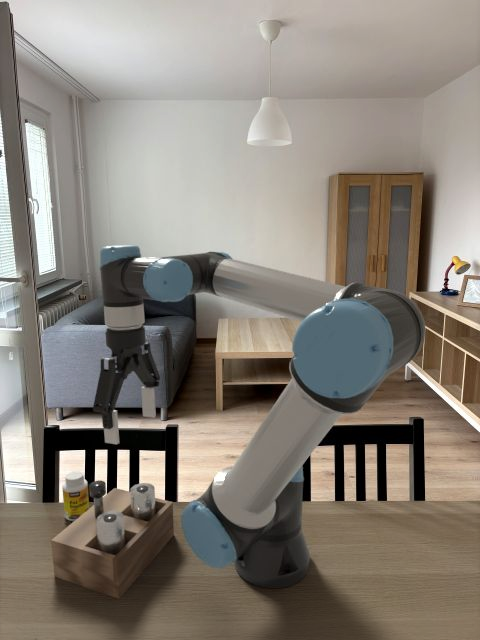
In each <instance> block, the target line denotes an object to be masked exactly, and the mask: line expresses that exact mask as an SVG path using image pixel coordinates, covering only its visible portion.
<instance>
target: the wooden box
mask: <svg viewBox="0 0 480 640" xmlns="http://www.w3.org/2000/svg"><path fill="white" fill-rule="evenodd" d="M103 507H104V513H105V512H108V511H118V512H121V513H122V514H123V515H124V531H125V547H124V548H123V549H122V550H121V551H120V552H119V553H118V554H117V555H116V556H115V555H112V554H109V553H106V552H102V551H99V550H98V537H97V522H96V520H97V518H96V517H95V510H94V504H93V505H92V506H91V507H89V509H88V510H87V511H86V512H85V513H84V514H82V515H81V516H80V517H79V518H78V519H76V520H75V521H72V523H70V524H69V525H68V526H67V527H65V528H64V529H63V530H62V531H61V532H59V533H58V534H57V535H56V536H54V537H53V538H52V539H51V540H50V541H51V552H52V553H51V554H52V562H53V563H52V564H53V565H52V566H53V575H54V578H58V579H60V580H63V581H66V582H68V583H72V584H75V585H78V586H80V587H83V588H86V589H90V590H93V591H95V592H98V593H101V594H103V595H106V596H107V595H108V596H111V597H113V598H116V599H121V598H122V596H124V594H125V593H126V592H127V590H129V588H130V587H131V586H132V585H133V583H134V582H135V581H136V580H137V579H138V578H139V577H140V576H141V574H142V573H143V572H144V571H145V569H147V568H148V566H149V565H150V564H151V563H152V562H153V560H154V559H155V558H156V557H157V556H158V554H159V553H160V552H161V551H162V550H163V548H165V547H166V545H167V544H168V543H169V542H170V540H171V539H172V538H173V536H174V535H175V534H174V532H175V531H174V530H175V529H174V527H175V526H174V502H173V501H169V500H166V499H161V498H158V497H155V511H156V515H155V516H154V517H153V518H152V519H151V520H150V521H149V522H147V521H143V520H140V519H136V518H132V516H131V497H130V490H129V491H128V490H124V489H120V488H117V487H114V488H113V489H112V490H110V491H109V492H108V493H106V494H105V495H104V496H103Z"/></svg>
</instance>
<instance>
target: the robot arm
mask: <svg viewBox="0 0 480 640" xmlns="http://www.w3.org/2000/svg"><path fill="white" fill-rule="evenodd" d="M99 256H100V257H99V260H100V261H99V262H100V263H99V264H100V265H99V271H100V282H101V293H102V301H103V313H104V325H105V326H106V329H105V330H104V331H105V345H106V347H107V348H109V349H110V350H111V356H110V357H101V358H100V373H99V376H98V377H99V378H98V382H97V387H96V391H95V396H94V401H93V406H92V411H93V412H98V413H100V414H101V419H102V427H103V433H104V443H105V444H112V445H118V444H120V434H119V433H120V432H119V421H118V420H119V419H118V417H119V416H118V410H116V409H115V407H116V404H117V402H118V399H119V396H120V393H121V390H122V387H123V384H124V381H125V380H127V378H128V376H129V375H130V374H132V373H133V372H134V374H135V375H136V376H137V377H138V379H139V380H140V382H141V383H142V385H144V386H142V387H140V388H141V389H140V390H141V392H140V393H141V401H142V402H141V404H142V417H143V418H145V417H147V418H151V419H152V418H153V419H155V418H156V417H157V416H156V415H157V413H156V412H157V411H156V395H155V394H156V393H155V388H156V387H159V386H160V380H161V376H160V373H159V370H158V368H157V365H156V361H155V360H154V356H153V354H152V350H151V344H150V342H147V341H146V340H147V339H146V328H145V325H144V323H146V322H145V320H146V319H145V309H144V308H145V307H144V300H151V301H156V302H157V301H158V302H161V303H168V302H171V303H175V302H180V301H183V300H184V299H185V298H186V297H187V296H189V295H196V294H200V293H201V294H202V293H206V294H211V295H213V296H217V297H220V298H224V299H227V300H230V301H233V302H236V303H240V304H243V305H245V306H246V305H247V306H249V307H253V308H256V309H260V310H263V311H266V312H269V313H273V314H275V315H279V316H280V317H281V316H282V317H285V318H288V319H291V320H294V321H298V322H300V324H299V326H298V327H297V329H296V331H295V334H294V336H293V340H292V347H291V348H292V349H291V351H292V352H293V357H291V359H290V361H289V367H288V369H289V373H290V377H291V379H290V381H288V384H286V386H285V388H284V389H283V391H282V392H281V393H280V395H279V397H278V399H277V400H276V402H275V403H274V404H273V406H272V407H271V409H270V411H269V412H268V413H267V415H266V417H265V418H264V419H263V421H262V422H261V424H260V425H259V427H258V428H257V429H256V431H255V433H254V434H253V436H252V437H251V439H250V440H249V442H248V443H247V445H246V446H245V448H244V449H243V451H242V452H241V454H240V455H239V457H238V459H237V460H236V462H235V463H234V464H233V465H232V466H227V467H224V468H223V469H221V470H220V471H218V472H217V474H216V475H215V477H214V478H213V480H212V481H211V483H210V484H209V486H208V487H207V488H206V490H205V492H204V493H202V495H200V497H198V498H197V499H193V500H191V501H190V502H189V503H188V505H186V506H185V507H184V509H183V510H182V513H181V516H180V517H181V519H180V521H181V527H182V531H183V535H184V538H185V540H186V543H188V546H189V547H190V549H191V551H192V552H193V553H194V554H195V556H196V557H197V558H198V559H199V560H200V561H202V562H203V564H205V565H207V566H209V567H211V568H214V569H217V570H218V569H223V568H226V567H228V566H229V565H230V564H234V567H235V570H236V572H237V573H238V574H239V576H240V577H241V578H242V579H244V580H245V581H247V582H248V583H250V584H252V585H254V586H257V587H261V588H267V589H282V588H287V587H290V586H293V585H295V584H297V583H299V582H301V580H302V579H304V578H305V576H306V575H307V574H308V572H309V569H310V551H309V550H310V549H309V547H308V543H307V542H306V538H305V534H304V532H303V530H302V520H303V495H304V494H303V493H304V492H303V491H304V490H303V489H304V481H305V477H304V471H303V469H304V467H303V465H304V464H305V462H306V461H307V459H308V458H309V457H310V455H312V453H313V452H314V450H315V449H316V448H317V447H318V446H319V444H320V443H321V442H322V441H323V439H324V438H325V437H326V435H327V434H328V433H329V432H330V430H331V429H332V428H333V426H334V425H335V423H337V421H338V420H339V419H340V417H341V416H342V415H348V416H349V415H353V414H356V413H357V412H359V411H360V410H362V407H364V405H365V404H366V403H367V401H369V399H370V398H371V397H372V396H373V395H374V393H375V392H376V390H377V389H378V388H379V387H380V386H381V385H382V383H383V382H384V381H385V380H386V379H387V378H388V376H390V375H392V374H393V373H394V372H396V371H398V370H399V369H401V368H402V367H403V368H404V366H407V365H408V364H409V363H411V361H413V360H414V358H415V357H416V356H417V355H418V354H419V352H420V351H421V350H422V347H423V345H424V341H425V339H426V321H425V318H424V316H423V314H422V312H421V311H422V310H420V308H419V306H418V304H416V303H415V302H414V301H413V299H411V298H410V297H409V296H407V295H405V294H404V293H402V292H399V291H397V290H394V289H393V290H392V289H389V288H384V287H379V286H373V285H367V284H364V283H359V282H352V283H350V284H348V285H347V286H345V285H340V284H335V283H332V282H329V281H323V280H319V279H315V278H311V277H307V276H303V275H299V274H295V273H291V272H287V271H282V270H278V269H276V268H275V269H274V268H272V267H267V266H261V265H258V264H254V263H250V262H245V261H241V260H237V259H234V258H232V256H231V255H229V253H226V252H222V251H208V252H200V253H193V254H182V255H170V256H161V257H158V256H157V257H153V256H152V257H151V256H150V257H142V253H141V248H140V247H139V245H134V244H120V245H107V246H103V247H102V248H101V249H100V252H99Z"/></svg>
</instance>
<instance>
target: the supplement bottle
mask: <svg viewBox="0 0 480 640" xmlns="http://www.w3.org/2000/svg"><path fill="white" fill-rule="evenodd" d="M64 477H65V482H63V484H62V500H63V501H62V503H63V514H64V518H65V519H66V520H68V521H70V522H74V521H75V520H76V519H78V518H79V517H80V516H81V515H82V514H84V513H85V512H86V511H87V510H88V509H90V501H89V497H90V496H89V483H88V481H87V480H86V479H85V478H84V477H85V476H84V473H83V472H82V471H80V470H75V471H70V472H68V473H67V474H65V476H64Z"/></svg>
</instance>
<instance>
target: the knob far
mask: <svg viewBox="0 0 480 640" xmlns="http://www.w3.org/2000/svg"><path fill="white" fill-rule="evenodd" d="M155 491H156V490H155V486H154V485H153V484H151V483H149V482H148V483H147V482H141V483H138V484H134V485H133V486H132V487H131V488H130V489H129V492H130V497H131V516H132V518H136V519H140V520H143V521H147V522H149V521H150V520H151V519H152V518H153V517H154V516H155V515H156V511H155V498H156V492H155Z"/></svg>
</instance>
